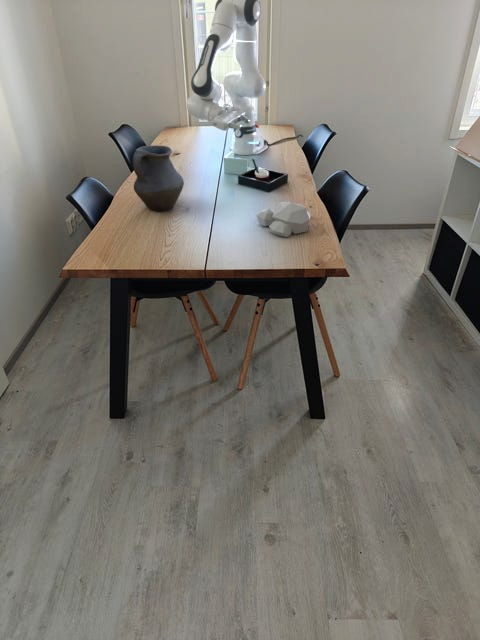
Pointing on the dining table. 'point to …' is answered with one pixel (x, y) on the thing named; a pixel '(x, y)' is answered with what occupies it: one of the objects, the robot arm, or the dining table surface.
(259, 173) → the cocoa
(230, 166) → the pale cyan corner bracket
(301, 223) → the rock
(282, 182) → the tray
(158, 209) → the pitcher
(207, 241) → the dining table surface
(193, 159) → the dining table surface
